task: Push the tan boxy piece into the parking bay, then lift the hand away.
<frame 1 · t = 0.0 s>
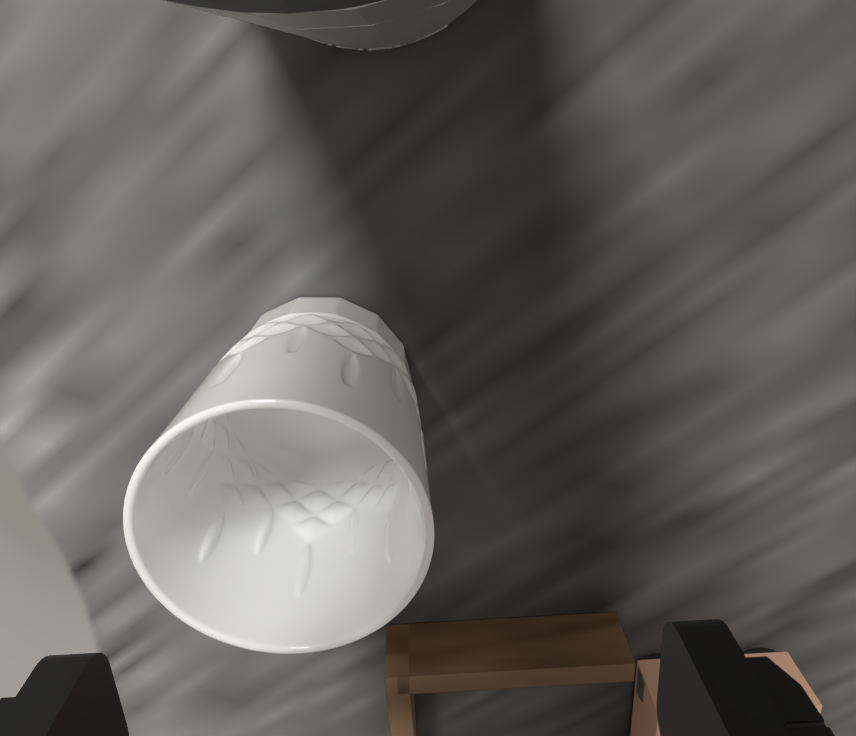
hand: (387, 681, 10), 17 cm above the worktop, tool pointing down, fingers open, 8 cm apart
white cup: (324, 375, 27), on the worktop
tan boxy piece: (697, 723, 35), on the worktop
parking bay: (507, 734, 35), on the worktop
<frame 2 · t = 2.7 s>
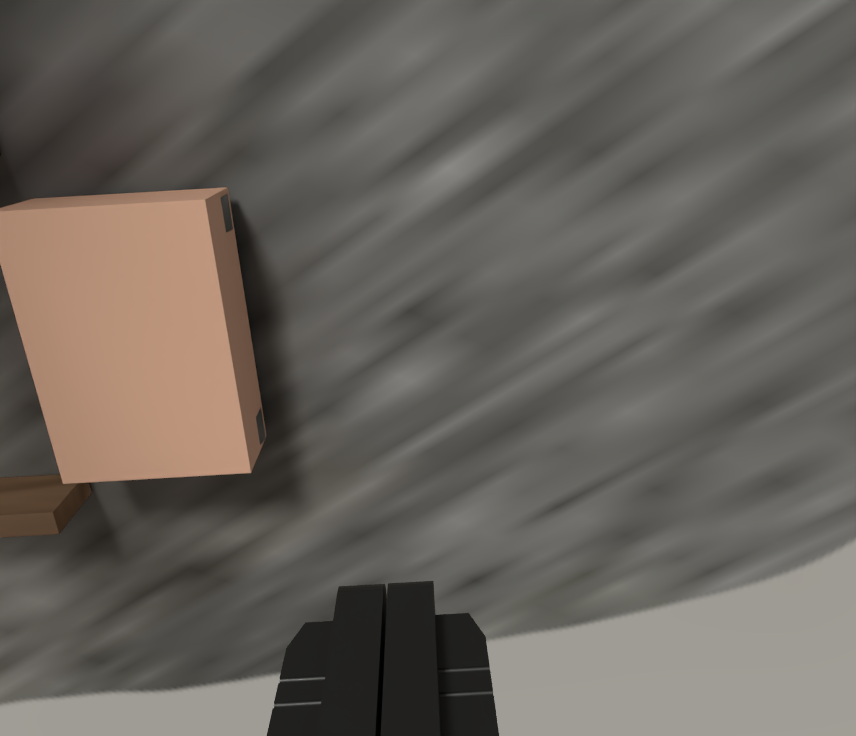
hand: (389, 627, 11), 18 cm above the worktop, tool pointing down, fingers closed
tan boxy piece: (162, 321, 27), on the worktop
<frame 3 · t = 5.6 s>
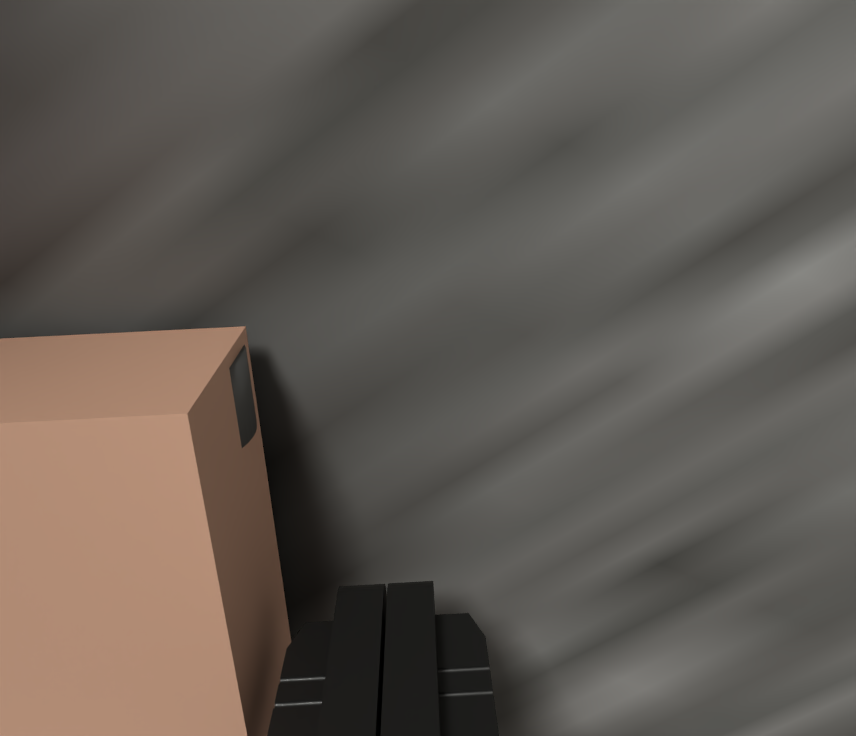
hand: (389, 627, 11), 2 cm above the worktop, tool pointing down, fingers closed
tan boxy piece: (94, 591, 13), on the worktop, touching gripper
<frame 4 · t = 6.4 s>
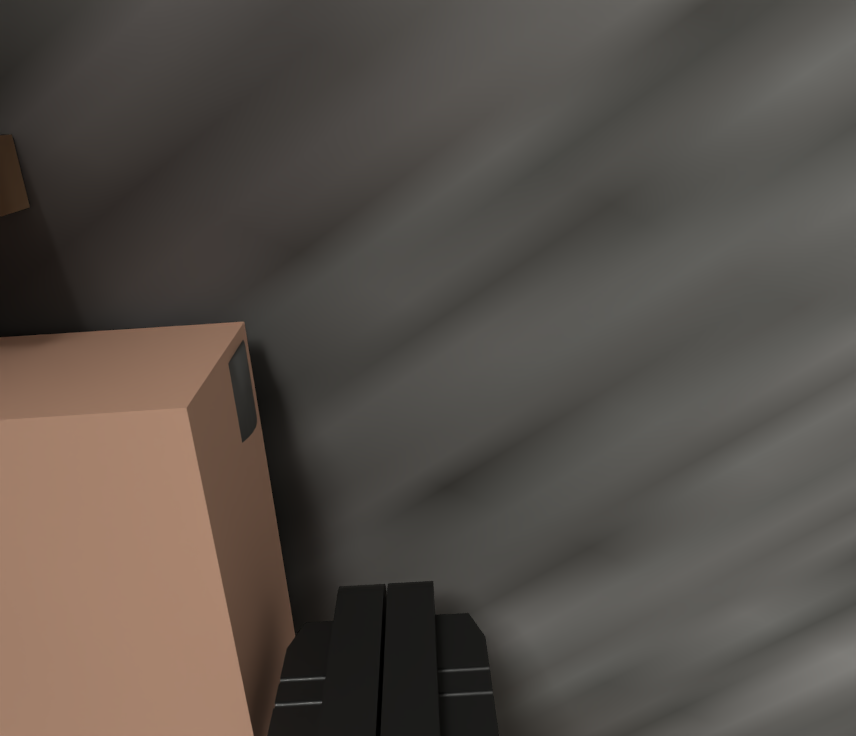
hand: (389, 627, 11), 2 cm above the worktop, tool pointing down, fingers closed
tan boxy piece: (98, 588, 13), on the worktop, touching gripper
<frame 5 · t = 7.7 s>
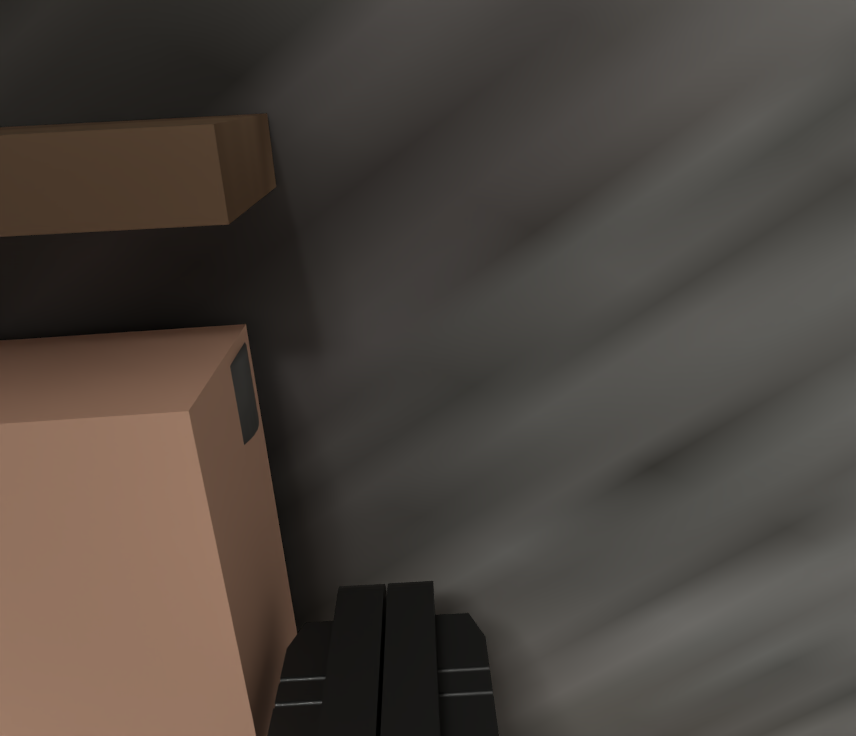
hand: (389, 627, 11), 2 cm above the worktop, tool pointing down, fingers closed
tan boxy piece: (101, 589, 13), on the worktop, touching gripper
parking bay: (43, 573, 12), on the worktop
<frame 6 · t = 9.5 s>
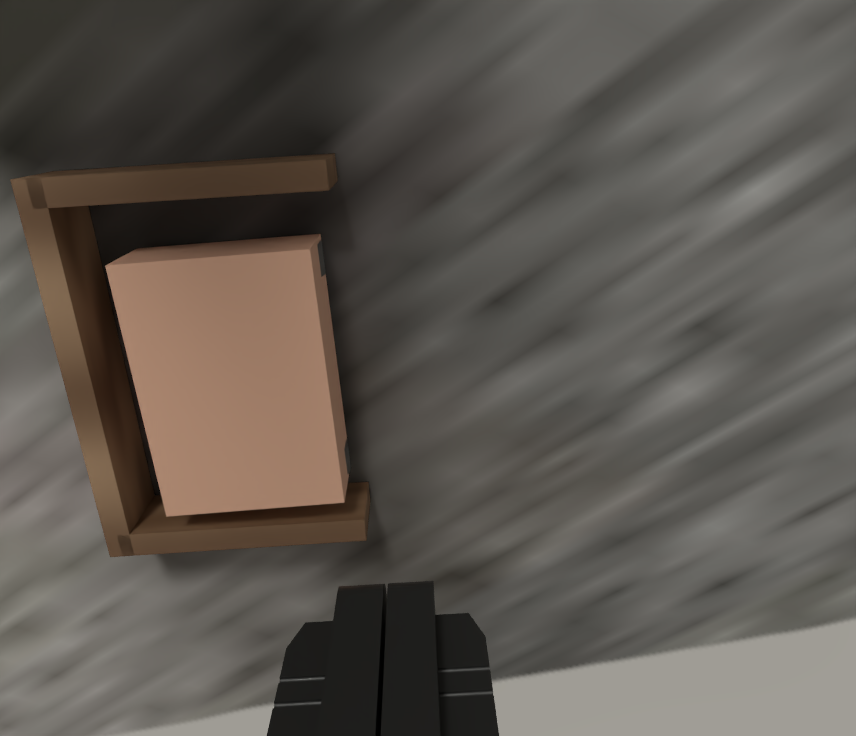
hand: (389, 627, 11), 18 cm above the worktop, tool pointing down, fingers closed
tan boxy piece: (253, 359, 29), on the worktop
parking bay: (232, 351, 29), on the worktop
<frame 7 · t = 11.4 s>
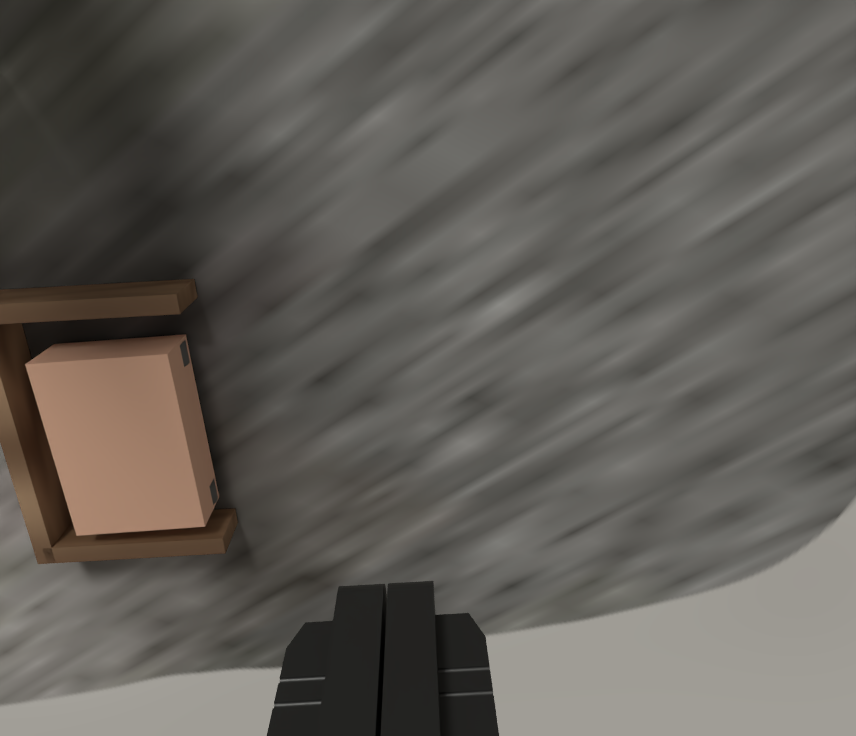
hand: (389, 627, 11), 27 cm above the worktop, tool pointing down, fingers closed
tan boxy piece: (143, 420, 39), on the worktop
parking bay: (128, 414, 39), on the worktop
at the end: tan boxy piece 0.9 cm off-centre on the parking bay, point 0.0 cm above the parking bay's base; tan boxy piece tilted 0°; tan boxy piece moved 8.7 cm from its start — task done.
